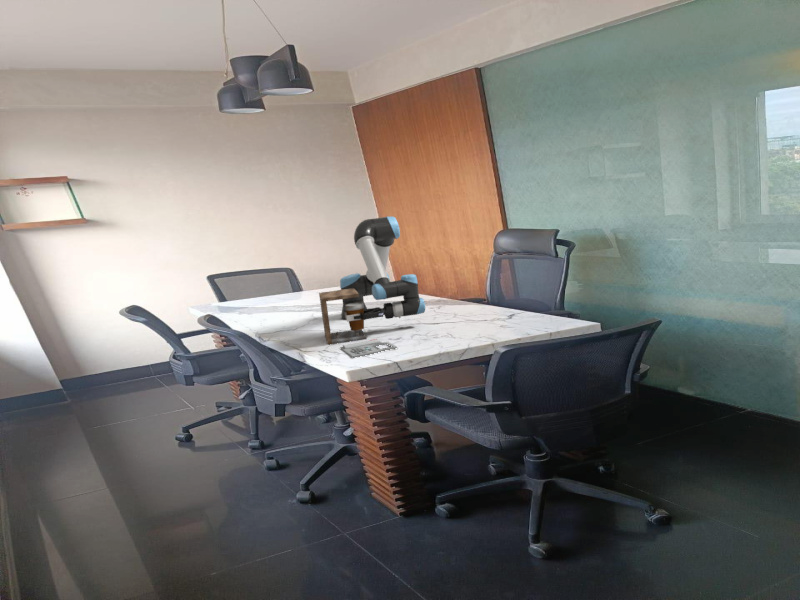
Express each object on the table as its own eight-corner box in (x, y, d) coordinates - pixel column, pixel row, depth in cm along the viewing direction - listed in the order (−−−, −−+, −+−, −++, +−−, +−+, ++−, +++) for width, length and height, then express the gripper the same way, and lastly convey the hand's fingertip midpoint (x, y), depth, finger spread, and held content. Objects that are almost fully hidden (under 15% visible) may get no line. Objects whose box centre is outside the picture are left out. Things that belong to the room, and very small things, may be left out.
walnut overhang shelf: (361, 330, 333) (355, 287, 330) (366, 339, 312) (360, 293, 308) (325, 336, 331) (319, 292, 327) (327, 345, 309) (321, 298, 306)
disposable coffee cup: (351, 332, 315) (348, 307, 313) (344, 329, 324) (341, 305, 322) (370, 328, 319) (367, 303, 317) (363, 325, 327) (359, 301, 325)
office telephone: (339, 344, 299) (381, 336, 305) (339, 350, 299) (382, 341, 305) (352, 353, 277) (398, 344, 283) (353, 359, 277) (399, 350, 283)
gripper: (397, 321, 313) (348, 328, 310) (390, 314, 334) (344, 321, 330) (395, 305, 312) (346, 312, 309) (388, 299, 332) (342, 306, 329)
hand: (345, 317), depth 319 cm, fingers closed on disposable coffee cup, 8 cm apart
